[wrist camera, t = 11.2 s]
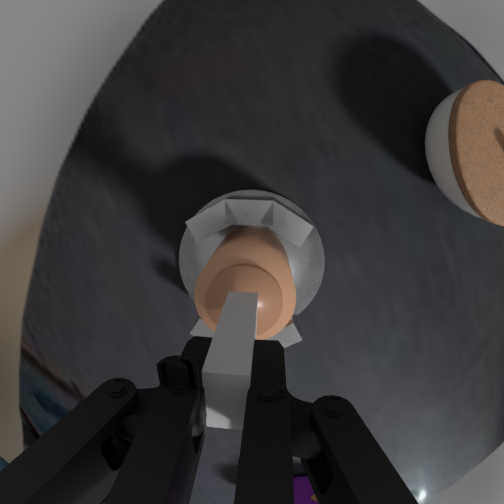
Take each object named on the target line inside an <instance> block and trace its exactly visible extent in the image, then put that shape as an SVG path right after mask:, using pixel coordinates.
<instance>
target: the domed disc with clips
mask: <svg viewBox="0 0 504 504" xmlns="http://www.w3.org/2000/svg"><path fill="white" fill-rule="evenodd" d="M185 223H186V224H187V228H186V230H185V232H184V234H183V237H182V241H181V244H180V250H179V267H180V273H181V277H182V280H183V283H184V286H185V288H186V290H187V292H188V293H189V295H190V297H191V298H192V299H193V301H194V302H195V299H194V290H195V284H196V281H197V278H198V276H199V274H200V272H201V271H202V269H203V268H204V266H205V265H206V263H207V262H208V260H209V259H210V257H211V256H212V255H213V253H214V252H215V250H216V249H217V247H218V246H219V244H220V243H221V241H222V240H223V239H224V238H225V237H226V236H227V235H229V234H230V233H232V232H233V231H236V230H238V229H241V228H247V227H254V228H260V229H263V230H266V231H268V232H270V233H272V234H273V235H274V236H276V237H277V238H278V239H279V240H280V241H281V243H282V244H283V246H284V247H285V250H286V252H287V256H288V260H289V264H290V268H291V272H292V277H293V281H294V285H295V290H296V305H295V310H294V313H293V315H292V317H291V319H290V321H289V322H288V324H287V325H286V326H285V327H284V328H283V329H282V330H281V331H280V332H279V333H277V334H276V335H274V336H272V337H270V338H268V339H266V340H278V341H279V342H280V343H281V345H282V346H283V347H284V348H285V347H288V346H290V345H292V344H295V343H297V342H299V341H301V340H303V339H302V334H301V329H300V324H299V319H298V314H299V313H300V312H302V311H303V310H304V309H305V308H306V307H307V306H308V304H309V303H310V302H311V301H312V299H313V298H314V296H315V295H316V293H317V291H318V289H319V287H320V284H321V281H322V278H323V273H324V263H325V257H324V249H323V245H322V241H321V238H320V235H319V233H318V231H317V229H316V227H315V225H314V224H313V222H312V221H311V220H310V218H309V217H308V216H307V214H306V213H305V212H304V211H302V210H301V209H300V208H299V207H298V206H297V205H295V204H294V203H293V202H291V201H290V200H288V199H286V198H284V197H282V196H280V195H277V194H275V193H271V192H267V191H263V190H240V191H234V192H231V193H228V194H224V195H222V196H220V197H218V198H216V199H214V200H212V201H211V202H209V203H208V204H206V205H205V206H204V207H203V208H202V209H200V210H199V211H198V212H197V214H196V215H195V216H194V217H193V218H191V219H189V220H187V221H186V222H185ZM190 334H191V335H193V336H202V337H213V336H214V332H213V331H212V330H211V329H210V328H209V327H208V326H207V325H206V324H205V323H204V322H203V320H202V319H201V317H200V315H199V316H198V318H197V320H196V322H195V324H194V326H193V328H192V330H191V333H190Z"/></svg>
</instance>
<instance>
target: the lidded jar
mask: <svg viewBox="0 0 504 504" xmlns="http://www.w3.org/2000/svg"><path fill="white" fill-rule="evenodd" d="M425 153H426V159H427V163H428V166H429V169H430V172H431V174H432V177H433V179H434V181H435V182H436V184H437V186H438V187H439V188H440V190H441V191H442V192H443V194H444V195H445V196H446V197H447V198H448V199H449V200H450V201H451V202H452V203H454V204H455V205H456V206H458V207H459V208H461V209H462V210H464V211H466V212H468V213H470V214H472V215H474V216H476V217H479V218H482V219H484V220H486V221H488V222H490V223H493V224H496V225H500V226H504V86H503V85H502V84H500V83H498V82H495V81H492V80H479V81H476V82H473V83H471V84H469V85H467V86H466V87H464V88H462V89H460V90H457V91H455V92H453V93H452V94H450V95H449V96H448V97H446V98H445V99H444V100H443V101H442V102H441V103H440V104H439V105H438V106H437V107H436V108H435V110H434V112H433V113H432V115H431V117H430V119H429V122H428V125H427V129H426V134H425Z"/></svg>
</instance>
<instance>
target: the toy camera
mask: <svg viewBox="0 0 504 504" xmlns="http://www.w3.org/2000/svg"><path fill="white" fill-rule="evenodd" d="M293 482H294V504H319V503H318V501H317V498H316V496H315V494H314V491H313V489H312V486H311V484H310V482H309V479H308V477H307V476H298V477H295V478H293Z"/></svg>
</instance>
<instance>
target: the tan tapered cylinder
mask: <svg viewBox="0 0 504 504" xmlns="http://www.w3.org/2000/svg"><path fill="white" fill-rule="evenodd" d="M228 291H233V292H252V293H258V309H257V332H256V340H266V339H268V338H270V337H272V336H274V335H276V334H277V333H279V332H280V331H281V330H282V329H283V328H284V327H285V326H286V325H287V324H288V322H289V321H290V319H291V317H292V315H293V313H294V310H295V305H296V290H295V285H294V281H293V277H292V272H291V268H290V264H289V260H288V256H287V252H286V250H285V247H284V246H283V244H282V243H281V241H280V240H279V239H278V238H277V237H276V236H274V235H273V234H272V233H270V232H268V231H266V230H263V229H260V228H254V227H247V228H241V229H238V230H236V231H233V232H232V233H230V234H229V235H227V236H226V237H225V238H224V239H223V240H222V241H221V243H220V244H219V246H218V247H217V249H216V250H215V252H214V253H213V255H212V256H211V257H210V259H209V260H208V262H207V263H206V265H205V266H204V268H203V269H202V271H201V272H200V274H199V276H198V278H197V281H196V284H195V290H194V299H195V305H196V309H197V311H198V314H199V315H200V317H201V319H202V320H203V322H204V323H205V324H206V325H207V326H208V327H209V328H210V329H211V330H212V331H213V332H214V333H215V330H216V327H217V324H218V321H219V318H220V315H221V312H222V309H223V306H224V303H225V300H226V297H227V294H228Z"/></svg>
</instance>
